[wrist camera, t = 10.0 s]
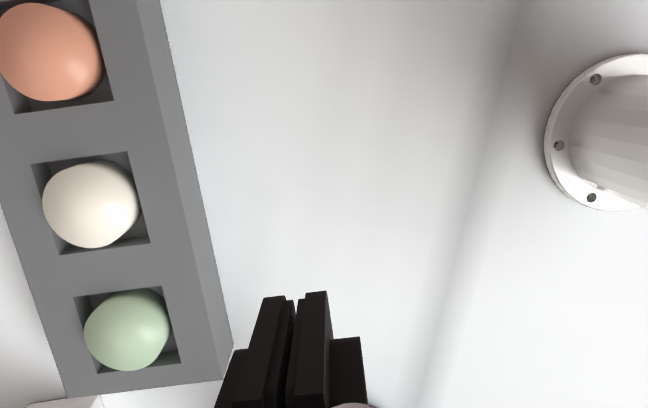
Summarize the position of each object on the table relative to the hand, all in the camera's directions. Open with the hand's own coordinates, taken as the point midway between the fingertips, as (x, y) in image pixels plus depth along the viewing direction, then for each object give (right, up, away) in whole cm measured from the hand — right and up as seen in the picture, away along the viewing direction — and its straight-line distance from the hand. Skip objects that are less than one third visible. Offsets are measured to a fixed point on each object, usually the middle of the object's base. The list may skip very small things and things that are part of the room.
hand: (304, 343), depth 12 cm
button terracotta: (-18, +14, +19) cm, 30 cm away
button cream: (-16, +4, +22) cm, 28 cm away
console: (-16, +5, +25) cm, 31 cm away
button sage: (-15, -6, +25) cm, 30 cm away
